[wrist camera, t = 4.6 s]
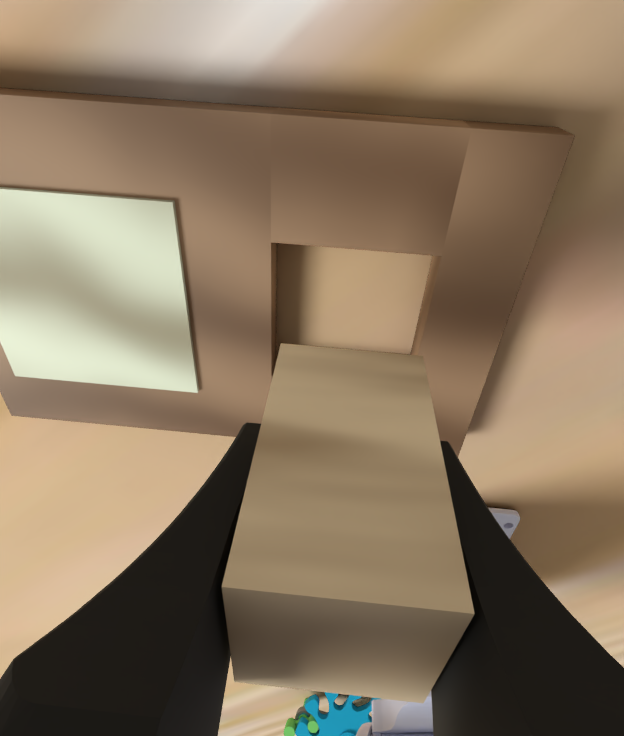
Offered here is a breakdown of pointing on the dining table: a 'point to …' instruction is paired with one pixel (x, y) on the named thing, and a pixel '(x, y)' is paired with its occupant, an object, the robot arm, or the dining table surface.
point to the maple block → (346, 533)
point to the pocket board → (241, 246)
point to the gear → (329, 717)
